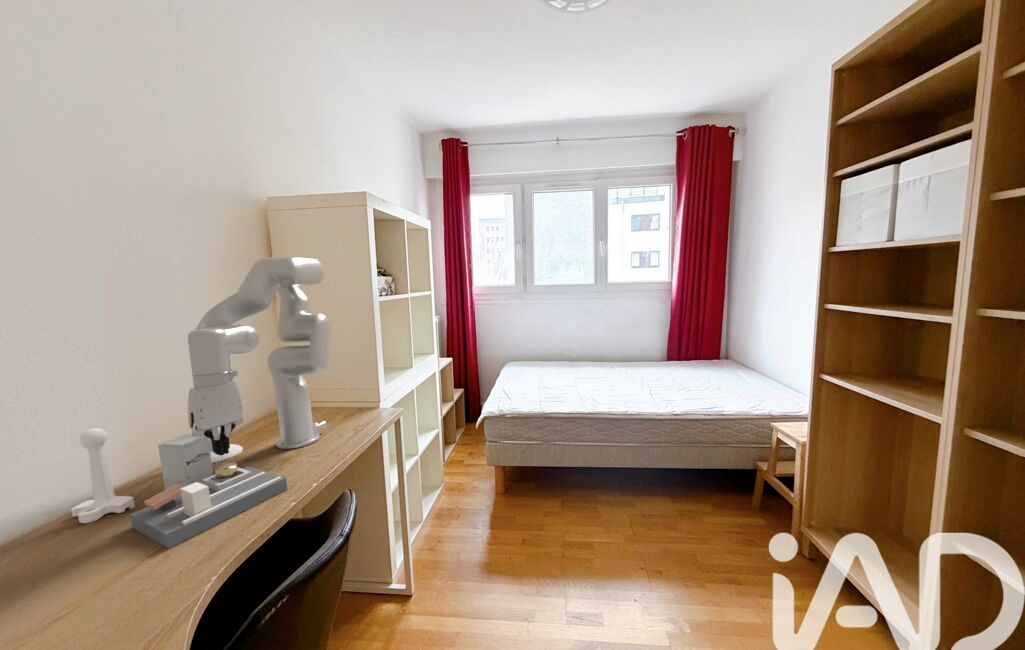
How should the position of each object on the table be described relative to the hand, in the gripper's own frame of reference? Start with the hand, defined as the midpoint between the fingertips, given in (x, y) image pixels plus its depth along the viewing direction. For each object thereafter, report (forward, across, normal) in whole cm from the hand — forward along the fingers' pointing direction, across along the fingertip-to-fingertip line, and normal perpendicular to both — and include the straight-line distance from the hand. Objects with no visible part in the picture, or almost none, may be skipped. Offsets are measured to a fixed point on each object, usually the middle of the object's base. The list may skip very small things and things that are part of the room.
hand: (221, 453), depth 96 cm
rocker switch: (+6, +11, 0) cm, 13 cm away
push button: (+6, -1, 0) cm, 6 cm away
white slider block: (+7, +9, +8) cm, 14 cm away
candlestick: (+10, -12, -29) cm, 33 cm away
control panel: (+11, +4, +4) cm, 12 cm away
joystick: (+11, +17, -19) cm, 28 cm away
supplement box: (+11, +1, -15) cm, 19 cm away
